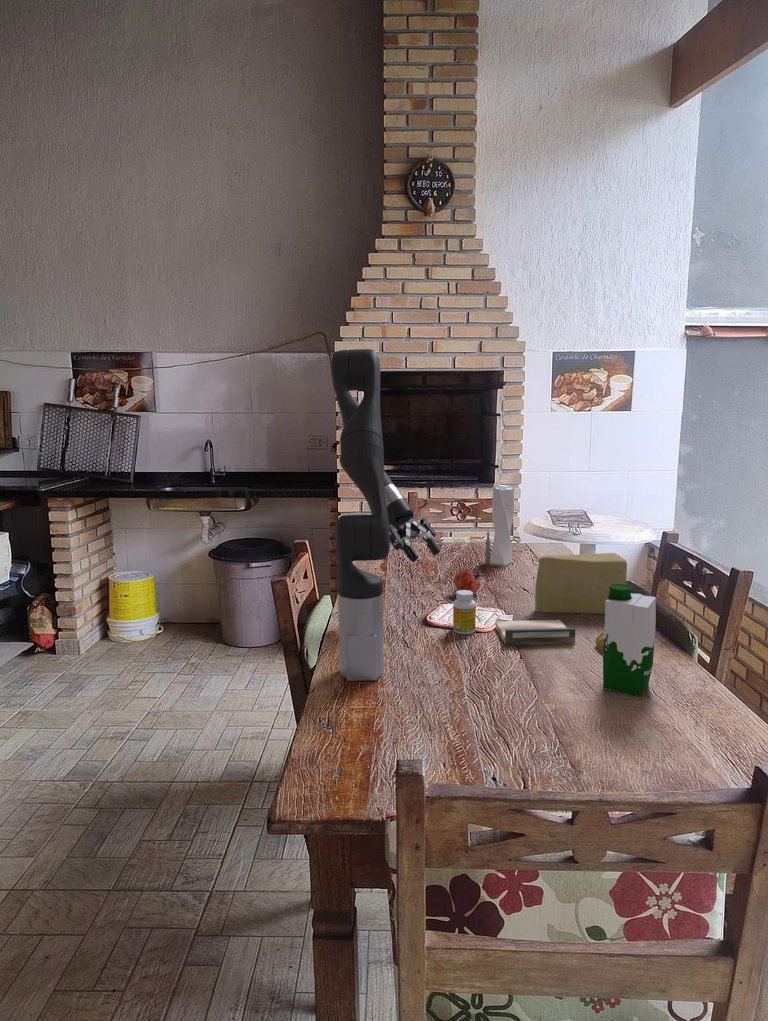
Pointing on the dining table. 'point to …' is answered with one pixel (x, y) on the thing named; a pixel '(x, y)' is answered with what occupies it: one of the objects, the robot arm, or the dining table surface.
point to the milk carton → (628, 640)
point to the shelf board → (535, 632)
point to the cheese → (577, 582)
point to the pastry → (600, 642)
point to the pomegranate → (467, 581)
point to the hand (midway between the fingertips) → (426, 556)
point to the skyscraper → (501, 526)
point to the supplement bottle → (464, 612)
